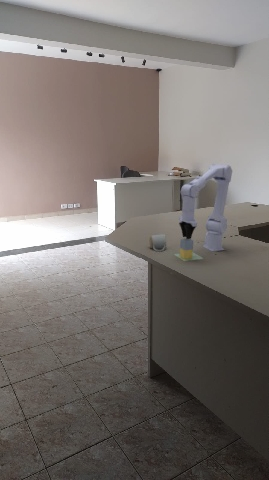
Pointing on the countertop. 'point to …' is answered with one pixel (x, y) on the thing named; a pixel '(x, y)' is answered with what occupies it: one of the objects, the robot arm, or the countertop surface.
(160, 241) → the ceramic mug
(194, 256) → the baseplate
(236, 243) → the countertop surface
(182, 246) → the blue brick
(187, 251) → the yellow brick
